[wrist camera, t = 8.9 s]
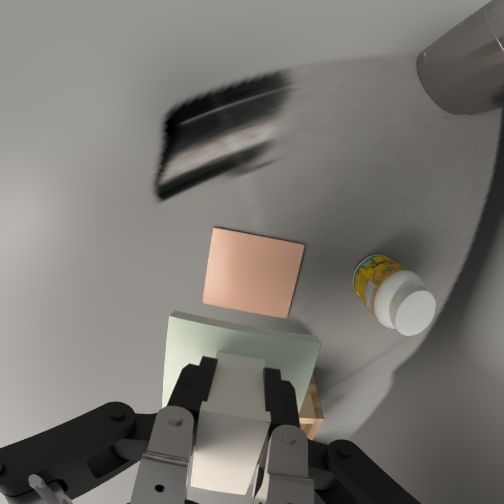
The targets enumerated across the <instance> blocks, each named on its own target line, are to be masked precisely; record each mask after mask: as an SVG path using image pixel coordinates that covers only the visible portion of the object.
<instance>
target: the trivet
mask: <svg viewBox="0 0 504 504" xmlns="http://www.w3.org/2000/svg"><path fill="white" fill-rule="evenodd" d="M304 246H305V245H304V244H300V243H295V242H290V241H285V240H279V239H274V238H269V237H264V236H259V235H253V234H248V233H243V232H238V231H232V230H227V229H221V228H216V227H214V228H213V234H212V240H211V246H210V253H209V260H208V266H207V273H206V281H205V287H204V295H203V303H206V304H211V305H216V306H221V307H226V308H231V309H236V310H241V311H247V312H252V313H257V314H263V315H269V316H275V317H281V318H287V315H288V312H289V308H290V304H291V300H292V296H293V292H294V288H295V284H296V280H297V276H298V272H299V267H300V263H301V259H302V254H303V250H304Z"/></svg>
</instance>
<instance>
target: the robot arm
mask: <svg viewBox="0 0 504 504" xmlns="http://www.w3.org/2000/svg"><path fill="white" fill-rule="evenodd" d="M417 69H418V74H419V77H420V80H421V82H422V84H423V86H424V88H425V89H426V91H427V93H428V94H429V95H430V96H431V98H432V99H433V100H434V101H435V102H436V103H437V104H438V105H439V106H440V107H442V108H443V109H444V110H446V111H448V112H450V113H453V114H463V113H469V114H470V115H473V114H476V113H480V112H484V111H488V110H491V109H495V108H499V107H503V106H504V0H492V1H491V2H489V3H488V4H486V5H485V6H483V7H482V8H480V9H479V10H478V11H476V12H475V13H473V14H472V15H470V16H469V17H468V18H466V19H465V20H464V21H462V22H461V23H459V24H458V25H456V26H455V27H454V28H452V29H451V30H450V31H448V32H447V33H446V34H444V35H443V36H442V37H440V38H439V39H438V40H437V41H435V42H434V43H432V44H431V45H430V46H428V47H427V48H426V49H425V50H423V51H422V52H421V53H420V54H419V57H418V59H417ZM217 363H218V359H217V358H212V357H207V356H202V358H201V361H200V364H199V365H195V364H190V363H189V364H188V365H186V366H185V367H184V368H182V370H181V373H180V375H179V378H178V380H177V382H176V384H175V387H174V389H173V391H172V394H171V396H170V399H169V401H168V403H167V405H166V407H164V408H162V409H161V410H159V412H158V413H155V414H137V413H135V412H134V411H133V409H132V408H131V407H130V406H129V405H127V404H124V403H122V402H109V403H106V404H104V405H102V406H100V407H98V408H96V409H94V410H92V411H89V412H87V413H85V414H83V415H81V416H79V417H76V418H74V419H72V420H70V421H68V422H65V423H63V424H61V425H59V426H56V427H54V428H52V429H49V430H47V431H44V432H42V433H39V434H37V435H34V436H32V437H29V438H27V439H24V440H21V441H19V442H16V443H13V444H11V445H8V446H5V447H2V448H0V492H1V493H2V494H3V495H4V496H5V497H6V499H7V501H8V502H9V504H73V503H72V501H71V500H73V499H75V498H76V497H79V496H81V495H83V494H85V493H86V492H88V491H90V490H92V489H94V488H95V487H97V486H99V485H100V484H102V483H104V482H106V481H108V480H109V479H111V478H113V477H114V476H116V475H118V474H119V473H121V472H122V471H124V470H126V469H127V468H129V467H130V466H132V465H133V464H135V463H137V462H138V461H140V465H139V469H138V473H137V477H136V481H135V485H134V489H133V493H132V498H131V502H130V503H127V504H198V503H196V502H193V501H190V500H187V490H188V478H189V470H190V460H191V456H192V454H193V450H194V446H195V444H196V436H197V428H198V420H199V413H200V408H201V404H202V401H205V402H207V400H208V396H209V393H210V389H211V385H212V382H213V378H214V374H215V371H216V367H217ZM263 381H264V397H265V411H267V412H270V416H271V422H270V426H269V429H268V432H267V435H266V438H265V441H264V444H263V447H262V450H261V453H260V462H259V465H258V467H257V471H256V477H255V483H254V489H253V494H252V500H251V504H314V500H315V501H316V503H317V504H421V503H420V502H419V501H417V500H416V499H415V498H414V497H412V496H411V495H410V494H409V493H408V492H407V491H405V490H404V489H403V488H402V487H401V486H400V485H399V484H398V483H396V482H395V481H394V480H393V479H392V478H391V477H390V476H389V475H388V474H386V473H385V472H384V471H383V470H382V469H381V468H380V467H379V466H378V465H377V464H376V463H374V462H373V461H372V460H371V459H370V458H369V457H368V456H367V455H366V454H365V453H364V452H363V451H362V450H361V449H360V448H359V447H358V446H356V445H355V444H354V443H353V442H350V441H348V440H335V441H333V442H331V443H330V444H329V445H326V444H322V443H318V442H315V441H312V440H310V439H309V438H308V437H307V435H306V433H305V432H304V431H303V430H302V429H301V427H300V420H299V413H298V406H297V399H296V392H295V388H294V386H293V385H292V384H291V382H290V381H286V380H281V371H280V369H274V368H267V367H264V369H263ZM265 423H268V422H265Z"/></svg>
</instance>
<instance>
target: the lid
mask: <svg viewBox="0 0 504 504" xmlns="http://www.w3.org/2000/svg"><path fill="white" fill-rule="evenodd" d="M320 346H321V342H320V340H319V339H318V337H317V336H312V335H304V334H296V333H290V332H283V331H276V330H271V329H264V328H258V327H253V326H247V325H242V324H236V323H231V322H226V321H220V320H216V319H210V318H206V317H201V316H197V315H192V314H188V313H183V312H179V311H174V312H173V313H172V314H171V315H170V316H169V323H168V333H167V344H166V355H165V367H164V381H163V399H162V408H164V407H166V405H167V403H168V401H169V399H170V396H171V394H172V391H173V389H174V387H175V384H176V382H177V380H178V378H179V375H180V373H181V370H182V368H184V367H185V366H186V365H188V364H189V363H190V364H195V365H199V364H200V361H201V358H202V356H207V357H212V358H217V359H218V363H217V367H216V371H215V374H214V378H213V382H212V385H211V389H210V393H209V396H208V400H207V402H205V401H202V404H201V408H200V413H199V420H198V428H197V436H196V444H195V452H194V460H193V470H192V479H191V486H192V487H197V488H202V489H208V490H213V491H219V492H227V493H234V494H243V495H245V494H246V491H247V489H248V486H249V484H250V481H251V478H252V475H253V473H254V470H255V467H256V464H257V461H258V459H259V456H260V453H261V450H262V447H263V444H264V441H265V438H266V435H267V432H268V429H269V426H270V422H271V416H270V412H267V411H265V397H264V381H263V369H264V367H267V368H274V369H280V371H281V380H286V381H290V382H291V384H292V385H293V386H294V388H295V392H296V399H297V406H298V413H299V412H300V409H301V406H302V403H303V400H304V397H305V394H306V391H307V388H308V385H309V382H310V379H311V376H312V373H313V370H314V366H315V363H316V360H317V357H318V353H319V350H320ZM265 422H268V423H265Z"/></svg>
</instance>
